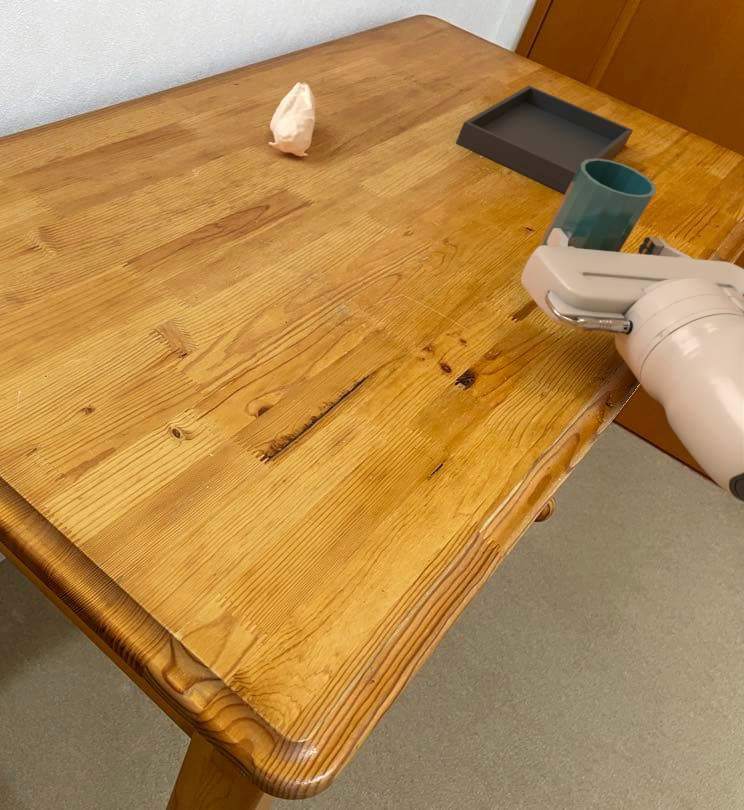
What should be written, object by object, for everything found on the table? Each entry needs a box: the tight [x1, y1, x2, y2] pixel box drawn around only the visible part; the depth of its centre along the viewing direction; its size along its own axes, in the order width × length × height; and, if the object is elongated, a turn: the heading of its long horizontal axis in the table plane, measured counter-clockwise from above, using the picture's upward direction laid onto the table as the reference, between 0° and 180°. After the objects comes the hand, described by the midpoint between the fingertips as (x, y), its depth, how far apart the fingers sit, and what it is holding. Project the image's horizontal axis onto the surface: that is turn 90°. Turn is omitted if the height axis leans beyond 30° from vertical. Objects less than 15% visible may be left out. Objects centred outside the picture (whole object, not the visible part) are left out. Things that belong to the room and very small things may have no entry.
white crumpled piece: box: [268, 81, 316, 157], centre depth 96 cm, size 5×7×10 cm
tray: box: [455, 85, 634, 195], centre depth 109 cm, size 21×15×3 cm
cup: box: [537, 158, 657, 252], centre depth 81 cm, size 7×7×12 cm
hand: (603, 239), depth 78 cm, fingers open, 8 cm apart
